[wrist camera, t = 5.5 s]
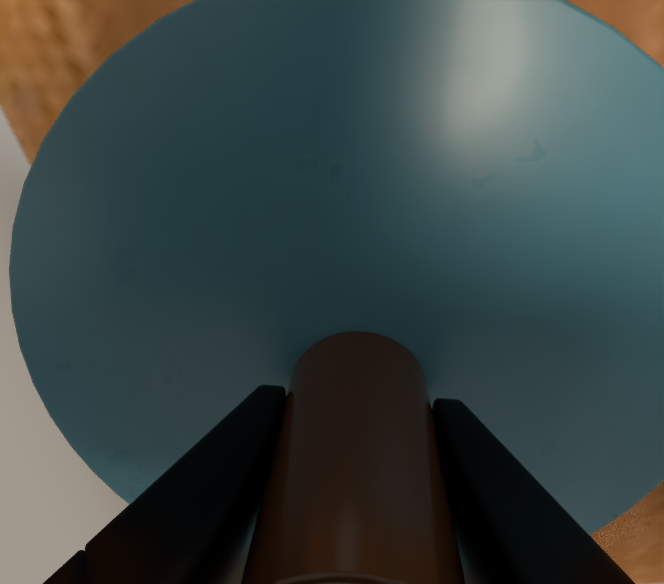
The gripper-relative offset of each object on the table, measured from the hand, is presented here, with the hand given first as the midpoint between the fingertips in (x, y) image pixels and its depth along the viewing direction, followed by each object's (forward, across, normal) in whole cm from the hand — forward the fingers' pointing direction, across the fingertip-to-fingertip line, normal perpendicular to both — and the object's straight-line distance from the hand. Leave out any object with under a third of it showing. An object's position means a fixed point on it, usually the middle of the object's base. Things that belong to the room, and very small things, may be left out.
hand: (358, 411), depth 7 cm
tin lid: (+1, 0, 0) cm, 1 cm away
